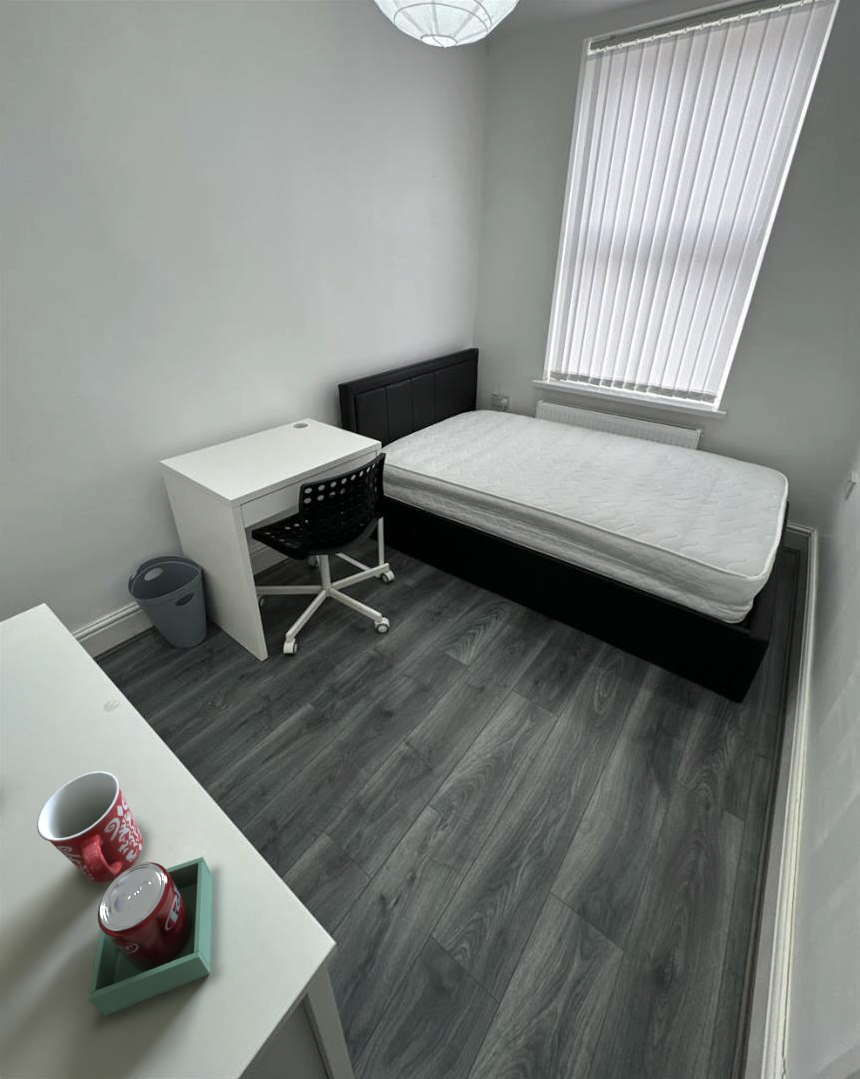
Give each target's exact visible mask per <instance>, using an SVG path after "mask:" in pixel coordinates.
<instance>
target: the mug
mask: <svg viewBox="0 0 860 1079" xmlns="http://www.w3.org/2000/svg"><path fill="white" fill-rule="evenodd" d="M120 786H121V785H120V782H119V780H118V777H116V776H115V775H114V774H112V773H111V772H108V771H92V772H87V773H84V774H82V775H79V776H76V777H75V778H73V779H71V780H69V781H68V782H66V783H64V784H63V785H61V786H60V787H59V788H58V789H57V790H56V791H54V792H53V794H52V795H51V796H50V797H49V798H48V799H47V800H46V802H45V803H44V804H43V806H42V808H41V809H40V811H39V814H38V816H37V821H36V829H37V832H38V834H39V836H40V838H42V839H43V840H45V841H47V842H49V843H51V845H53V846H54V847H55V848H56V849H57V850H58V851H59V852H60V853H61V854H62V855H63V856H64V857H66V858H67V860H69V861H70V862H71V863H72V864H73V865H74V866H75V867H76V868H77V869H78V870H79V871H80V872H82V874H83V875H84V876H85V877H87V879H89V880H90V881H92V882H94V883H99V884H102V883H107V882H111V881H114V880H115V879H116V878H117V877H118V876H119V875H120V874H122V873H123V872H124V871H126V870H127V869H129V868H131V867H133V866H134V864H135V863H136V861H137V860H138V858H139V856H140V855H141V851H142V849H143V842H144V841H143V836H142V834H141V832H140V829H139V827H138V825H137V823H136V821H135V819H134V816H133V814H132V811H131V810H130V807H129V806H128V803H127V801H126V798H125V796H124V794H123V792H122V789H121V787H120Z"/></svg>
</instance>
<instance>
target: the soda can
mask: <svg viewBox="0 0 860 1079" xmlns="http://www.w3.org/2000/svg"><path fill="white" fill-rule="evenodd" d="M166 869H167V868H165V867H164V865H162V864H160V863H158V862H154V861H151V862H150V861H146V862H142V863H141V862H140V863H138V864H135V865H132V866H131V867H130V868H129V869H127V870H126V871H124V872H123V873H122V874H120V875H119V876H118V877H117V878H115V879H113V880H112V883H110V885H109V886H108V887H107V889H106V890H105V892H104V893H103V895H102V897H101V899H100V902H99V905H98V910H97V923H98V926H99V928H100V930H101V929H102V931H103V932H104V933H105V934H106V936H107V937H108V938H109V939H110V940H111V941H112V942H113V943H114V945H115V946H116V947H117V948H118V949H119V950H120V951H121V953H122V954H123V955H124V956H125V957H126V958H127V959H128V961H129V962H130V963H131V964H132V965H133V966H134V967H135V968H136V969H138V970H140V971H143V972H146V971H149V970H151V969H154V968H157V967H159V966H162V965H164V964H167V963H170V962H171V961H173V960H174V959H175V958H176V957H177V956H178V955H179V953H180V952H181V951H182V949H183V948H184V946H185V945H186V943H187V941H188V939H189V936H190V933H191V930H192V914H191V911H190V909H189V907H188V905H187V904H186V902H185V900H184V899H183V897H182V895H181V894H180V892H179V890H178V889H177V887H176V885H175V884H174V882H173V880H172V879H171V877H170V875H169V874H168V872H167V870H166Z"/></svg>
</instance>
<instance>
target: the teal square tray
mask: <svg viewBox="0 0 860 1079" xmlns="http://www.w3.org/2000/svg"><path fill="white" fill-rule="evenodd" d="M165 869H166V870H167V872H168V874H169V875H170V877H171V879H172V880H173V882H174V884H175V885H176V887H177V889H178V890H179V892H180V894H181V895H182V897H183V899H184V900H185V902H186V904H187V905H188V907H189V909H190V911H191V914H192V930H191V933H190V936H189V939H188V941H187V943H186V945H185V946H184V948H183V949H182V951H181V952H180V953H179V955H178V956H177V957H176V958H175V959H174V960H173V961H171V962H170V963H167V964H164V965H162V966H159V967H157V968H154V969H151V970H149V971H146V972H143V971H140V970H138V969H136V968H135V967H134V966H133V965H132V964H131V963H130V962H129V961H128V959H127V958H126V957H125V956H124V955H123V954H122V953H121V951H120V950H119V949H118V948H117V947H116V946H115V945H114V943H113V942H112V941H111V940H110V939H109V938H108V937H107V936H106V934H105V933H104V932H103V931H102V929H101V928H100V931H99V936H98V943H97V947H96V953H95V958H94V962H93V969H92V975H91V980H90V985H89V991H88V996H87V1001H88V1002H89V1003H90V1004H91V1005H93V1006H94V1007H95V1008H96V1009H97V1010H98V1011H99V1012H101V1013H102V1014H103V1015H104V1016H108V1015H110V1014H114V1013H115V1012H118V1011H120V1010H123V1009H125V1008H129V1007H131V1006H133V1005H136V1004H138V1003H141V1002H143V1001H145V1000H148V999H152V998H153V997H156V996H158V995H160V994H163V993H166V992H169V991H171V990H174V989H175V988H178V987H181V986H183V985H186V984H188V983H191V982H193V981H196V980H198V979H201V978H204V977H206V976H209V975H210V974H211V951H212V950H211V949H212V948H211V946H212V909H213V874H212V872H211V870H210V868H209V865H208V864H207V862H206V859H205V858H204V856H200V857H197V858H194V859H192V860H188V861H185V862H182V863H180V864H176V865H173V866H170V867H168V868H165Z"/></svg>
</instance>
